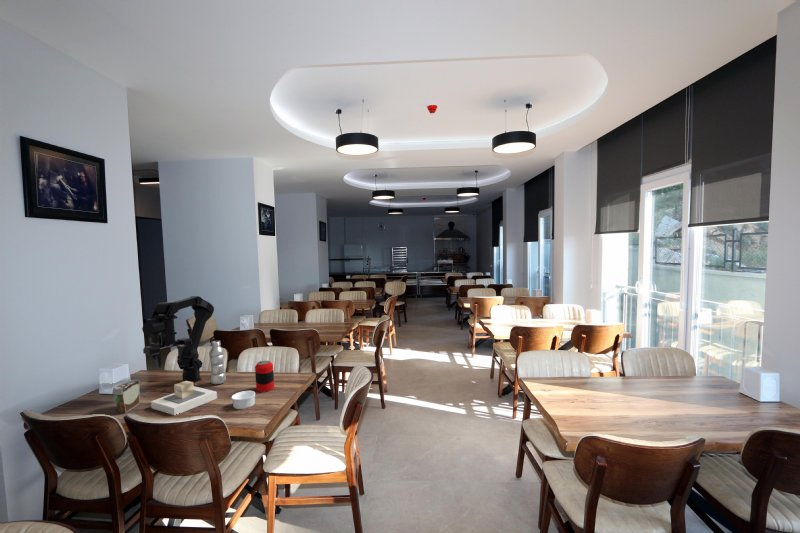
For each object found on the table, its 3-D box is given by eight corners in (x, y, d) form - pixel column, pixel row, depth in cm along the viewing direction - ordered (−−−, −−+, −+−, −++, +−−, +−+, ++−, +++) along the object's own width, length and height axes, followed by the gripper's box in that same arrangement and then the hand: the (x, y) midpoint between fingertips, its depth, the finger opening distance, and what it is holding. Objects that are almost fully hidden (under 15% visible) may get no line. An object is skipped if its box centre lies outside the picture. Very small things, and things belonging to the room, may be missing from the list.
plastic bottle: (207, 385, 179) (204, 342, 178) (219, 380, 185) (216, 339, 184) (217, 386, 177) (215, 343, 176) (229, 381, 183) (226, 340, 182)
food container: (126, 403, 161) (124, 379, 161) (141, 402, 162) (140, 378, 161) (106, 416, 149) (104, 390, 149) (123, 414, 150) (121, 389, 149)
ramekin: (255, 408, 151) (254, 397, 151) (230, 411, 149) (230, 400, 149) (256, 399, 160) (256, 389, 160) (233, 402, 157) (233, 392, 157)
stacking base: (194, 392, 171) (193, 385, 170) (217, 398, 163) (216, 390, 163) (151, 408, 155) (151, 400, 155) (174, 415, 147) (174, 407, 147)
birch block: (186, 392, 162) (186, 380, 162) (194, 394, 160) (193, 382, 159) (175, 396, 158) (174, 384, 158) (182, 398, 155) (181, 386, 155)
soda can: (262, 385, 176) (260, 359, 175) (277, 386, 174) (276, 360, 173) (252, 392, 168) (251, 365, 168) (268, 392, 167) (266, 365, 166)
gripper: (177, 325, 184) (179, 357, 185) (135, 333, 168) (137, 368, 169) (191, 326, 179) (193, 359, 180) (149, 335, 163) (151, 371, 164)
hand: (169, 364), depth 173 cm, fingers open, 9 cm apart
